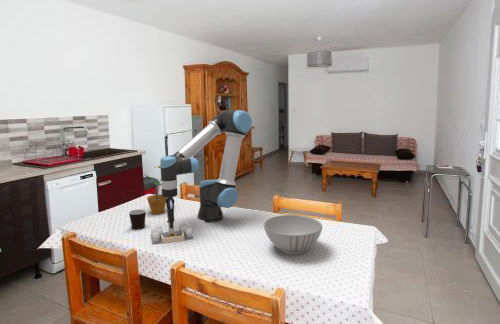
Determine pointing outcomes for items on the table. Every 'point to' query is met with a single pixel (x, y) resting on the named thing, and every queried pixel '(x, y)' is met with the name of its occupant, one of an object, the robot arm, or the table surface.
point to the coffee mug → (137, 219)
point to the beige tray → (161, 237)
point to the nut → (172, 235)
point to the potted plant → (156, 199)
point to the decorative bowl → (292, 232)
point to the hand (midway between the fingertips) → (171, 233)
